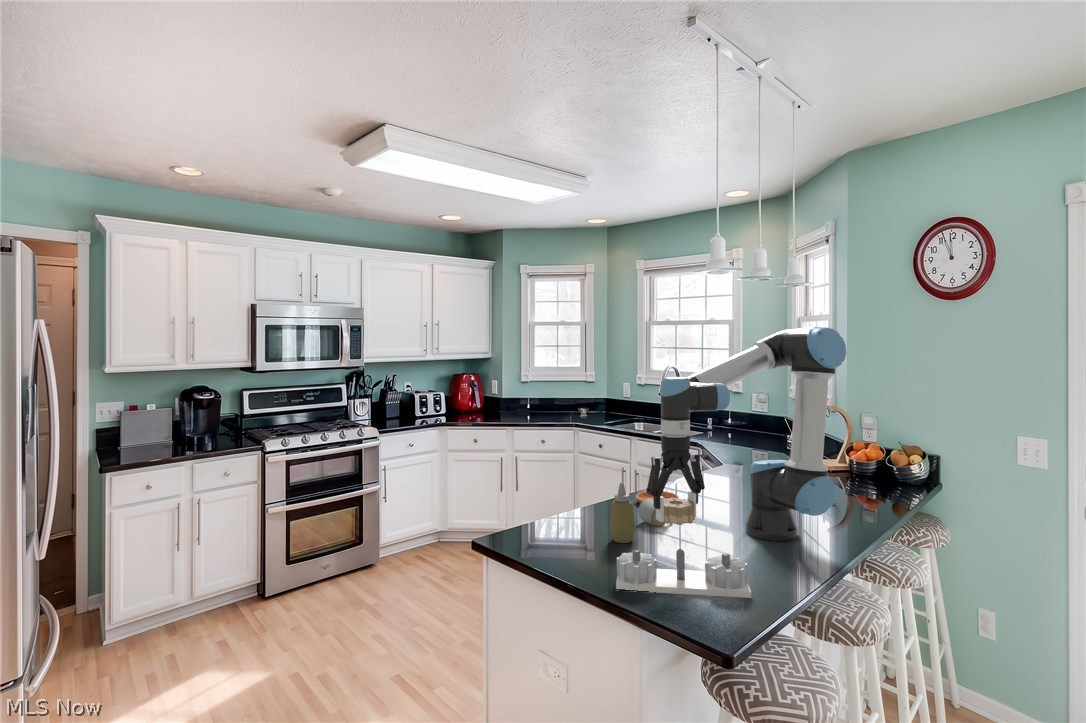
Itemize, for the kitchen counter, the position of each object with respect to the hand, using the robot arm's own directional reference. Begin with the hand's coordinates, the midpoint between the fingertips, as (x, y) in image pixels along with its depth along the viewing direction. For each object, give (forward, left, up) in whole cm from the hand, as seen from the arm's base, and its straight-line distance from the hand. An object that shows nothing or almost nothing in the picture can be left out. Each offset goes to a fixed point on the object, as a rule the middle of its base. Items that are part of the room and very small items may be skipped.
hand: (676, 518), depth 150 cm
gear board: (-1, +9, -14) cm, 17 cm away
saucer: (+4, -63, -15) cm, 65 cm away
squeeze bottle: (+15, -21, -14) cm, 30 cm away
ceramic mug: (+5, -39, -14) cm, 42 cm away
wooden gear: (0, 0, 0) cm, 0 cm away
